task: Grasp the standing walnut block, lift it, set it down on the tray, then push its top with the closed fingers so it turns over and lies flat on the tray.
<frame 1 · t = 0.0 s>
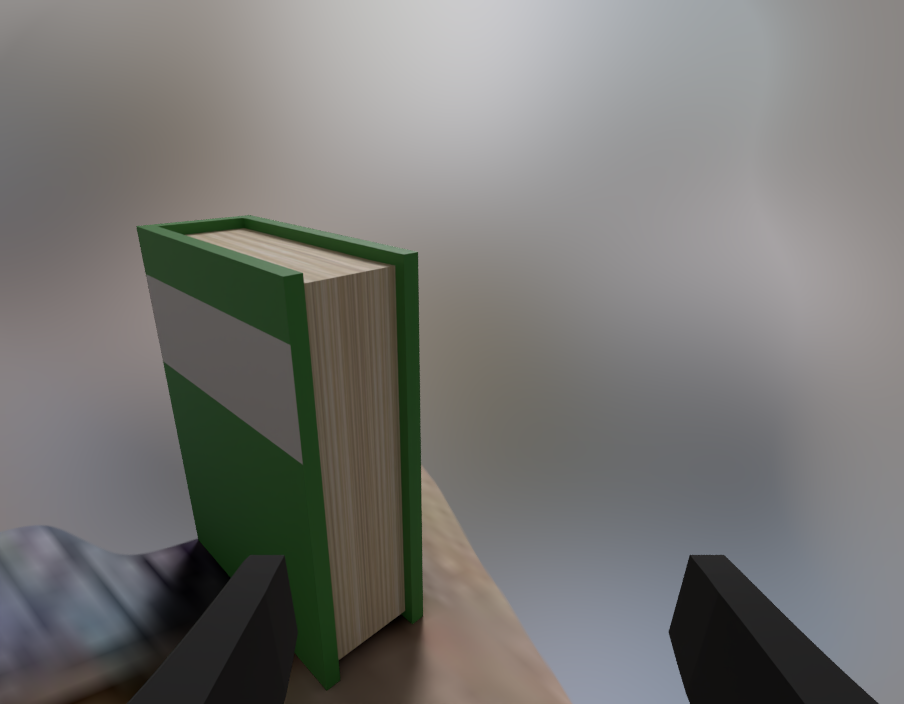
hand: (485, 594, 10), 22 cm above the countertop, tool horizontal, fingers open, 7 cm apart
hardback book: (301, 576, 40), on the countertop
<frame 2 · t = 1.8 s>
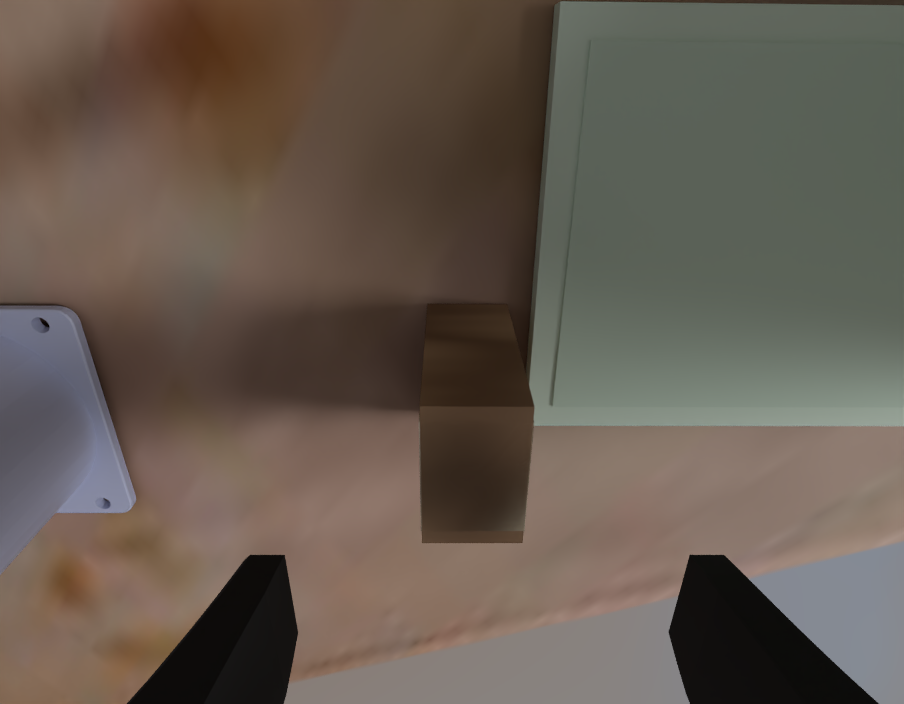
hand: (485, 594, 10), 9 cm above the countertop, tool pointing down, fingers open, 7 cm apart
tray: (769, 243, 17), on the countertop
walnut block: (466, 360, 18), on the countertop
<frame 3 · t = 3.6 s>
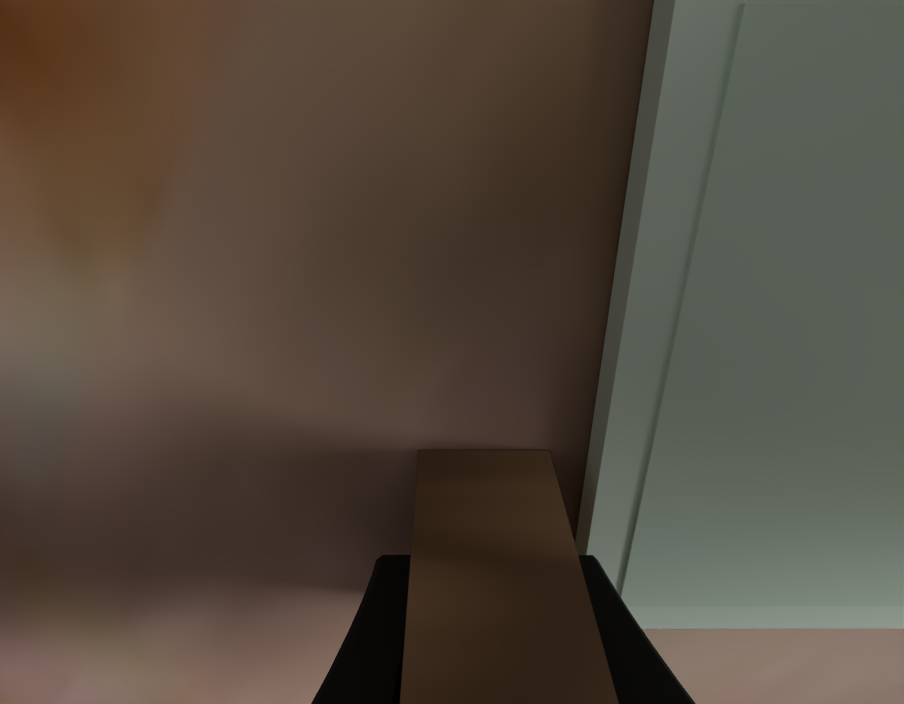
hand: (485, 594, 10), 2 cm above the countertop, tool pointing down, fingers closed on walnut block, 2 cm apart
walnut block: (480, 529, 11), on the countertop, touching gripper
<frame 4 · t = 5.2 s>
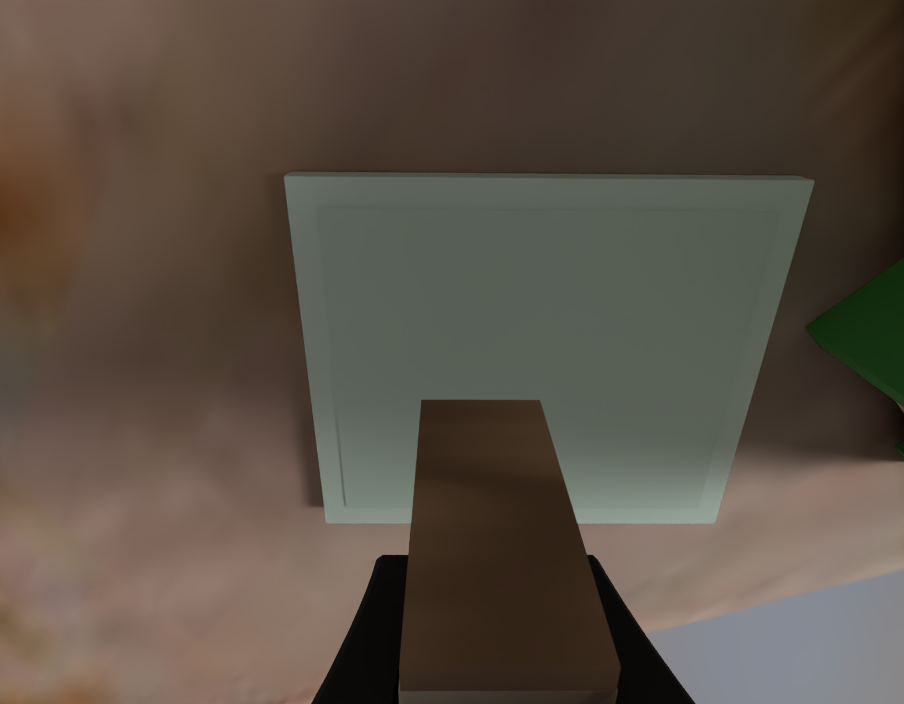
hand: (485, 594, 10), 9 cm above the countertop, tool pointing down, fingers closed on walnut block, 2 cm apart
tray: (530, 365, 18), on the countertop
walnut block: (477, 476, 13), point 6 cm above the countertop, touching gripper
when the fingers open (3 cm above the countertop, at t = 7.0 s): walnut block stays where it is, resting on tray.
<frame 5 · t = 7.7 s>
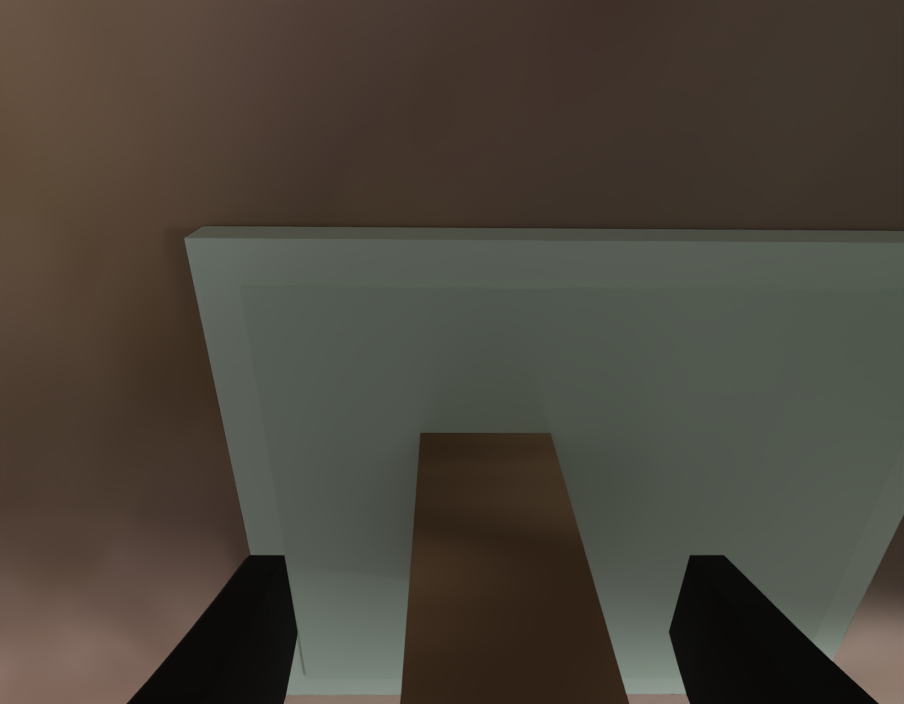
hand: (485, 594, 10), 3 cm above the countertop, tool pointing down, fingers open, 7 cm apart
tray: (567, 493, 12), on the countertop
walnut block: (482, 512, 12), point 1 cm above the countertop, touching tray
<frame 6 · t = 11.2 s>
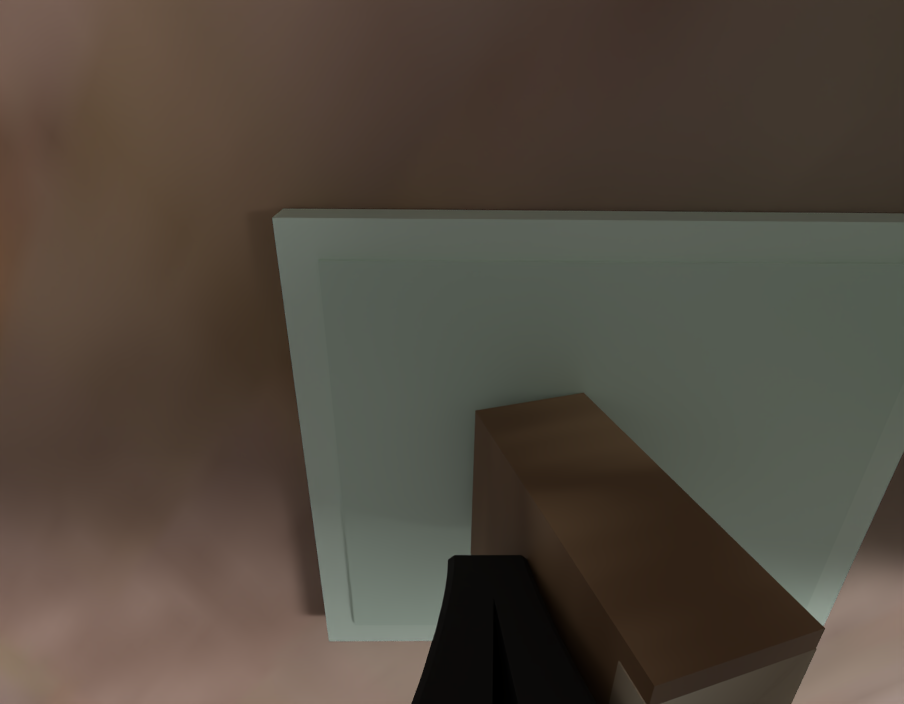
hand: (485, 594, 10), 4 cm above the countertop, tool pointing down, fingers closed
tray: (594, 452, 14), on the countertop
walnut block: (524, 476, 13), point 1 cm above the countertop, tilted 17°, touching gripper, tray
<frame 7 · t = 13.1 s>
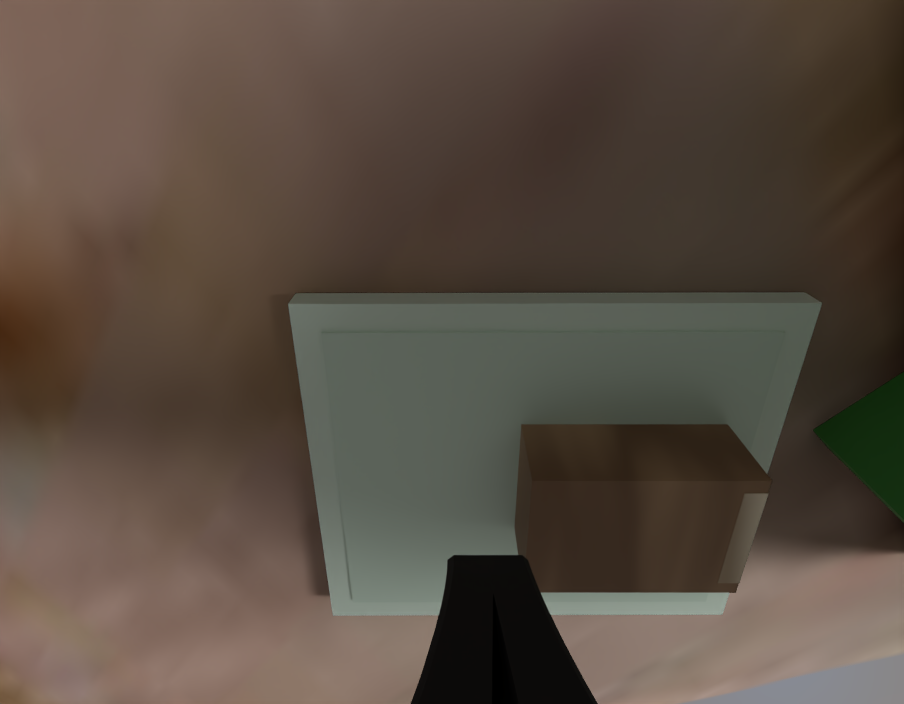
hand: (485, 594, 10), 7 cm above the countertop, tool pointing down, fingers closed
tray: (535, 467, 18), on the countertop
walnut block: (522, 507, 16), point 2 cm above the countertop, tilted 90°, touching tray
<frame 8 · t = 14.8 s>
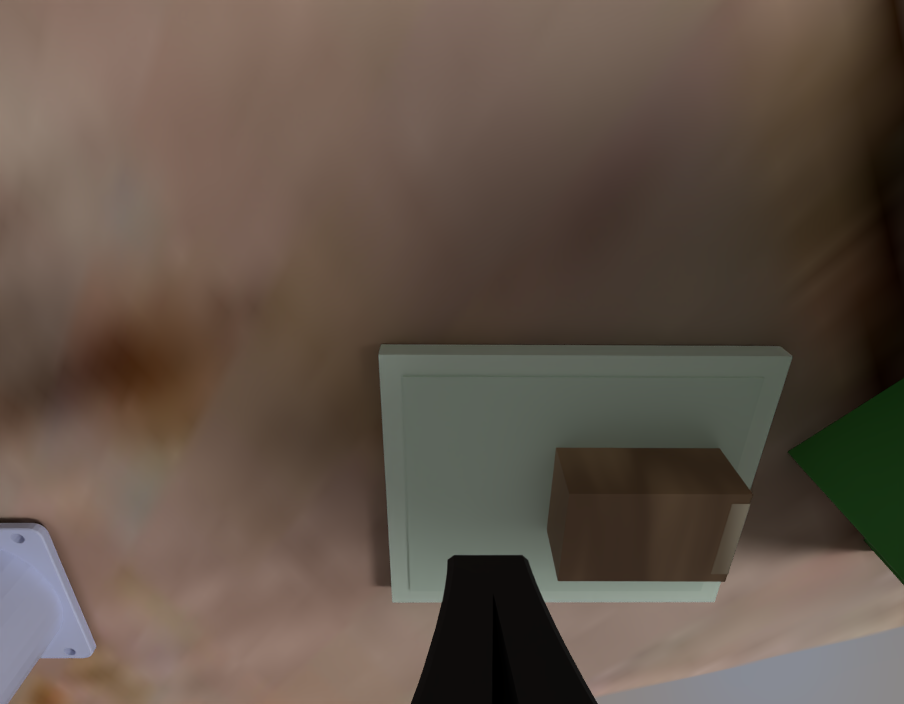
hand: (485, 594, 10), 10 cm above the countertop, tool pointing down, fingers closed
tray: (564, 480, 22), on the countertop
walnut block: (556, 513, 20), point 2 cm above the countertop, tilted 90°, touching tray
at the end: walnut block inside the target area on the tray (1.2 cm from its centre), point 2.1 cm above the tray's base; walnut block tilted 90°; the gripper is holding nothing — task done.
